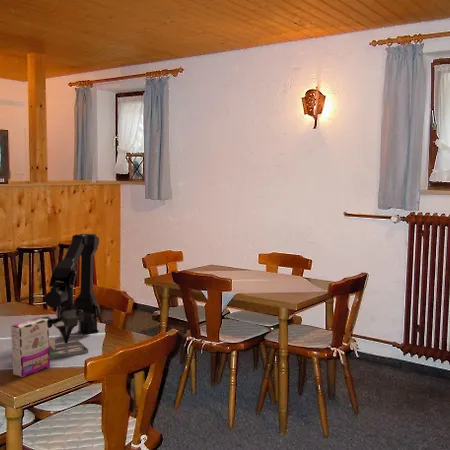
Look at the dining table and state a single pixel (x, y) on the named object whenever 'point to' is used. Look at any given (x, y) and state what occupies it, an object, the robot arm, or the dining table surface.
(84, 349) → the bench gauge
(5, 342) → the dining table surface
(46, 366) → the candy bar box
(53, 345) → the cube with stick handle
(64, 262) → the robot arm
